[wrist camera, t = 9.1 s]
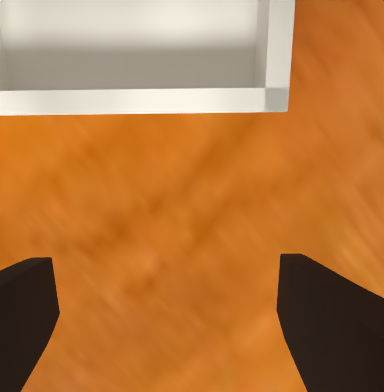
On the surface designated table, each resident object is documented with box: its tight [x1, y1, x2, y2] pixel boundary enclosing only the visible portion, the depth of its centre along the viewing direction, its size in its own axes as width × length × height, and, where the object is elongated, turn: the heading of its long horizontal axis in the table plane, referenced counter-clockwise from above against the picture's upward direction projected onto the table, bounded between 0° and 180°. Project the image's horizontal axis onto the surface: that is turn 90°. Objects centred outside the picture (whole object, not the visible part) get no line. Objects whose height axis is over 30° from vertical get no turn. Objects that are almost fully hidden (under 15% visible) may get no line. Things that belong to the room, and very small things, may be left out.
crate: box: [0, 0, 295, 115], centre depth 15 cm, size 14×9×4 cm, turn 91°
